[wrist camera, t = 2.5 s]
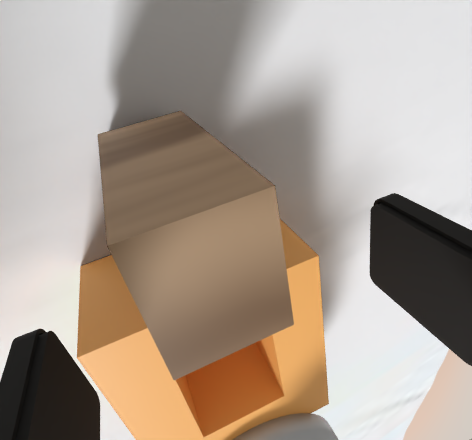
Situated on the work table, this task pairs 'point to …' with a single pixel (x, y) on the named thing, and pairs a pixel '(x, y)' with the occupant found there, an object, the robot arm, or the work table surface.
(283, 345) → the orange block with cylinder
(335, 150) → the work table surface
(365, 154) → the work table surface
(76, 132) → the work table surface
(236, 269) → the tan wooden block
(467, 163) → the work table surface
